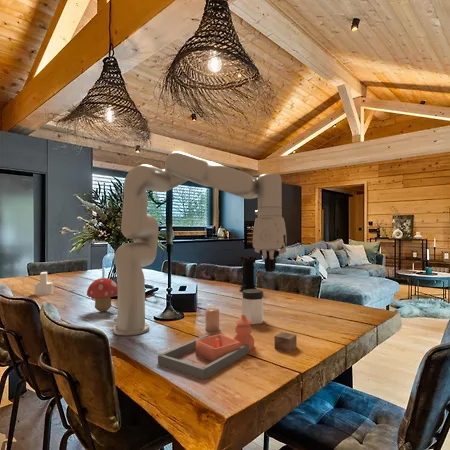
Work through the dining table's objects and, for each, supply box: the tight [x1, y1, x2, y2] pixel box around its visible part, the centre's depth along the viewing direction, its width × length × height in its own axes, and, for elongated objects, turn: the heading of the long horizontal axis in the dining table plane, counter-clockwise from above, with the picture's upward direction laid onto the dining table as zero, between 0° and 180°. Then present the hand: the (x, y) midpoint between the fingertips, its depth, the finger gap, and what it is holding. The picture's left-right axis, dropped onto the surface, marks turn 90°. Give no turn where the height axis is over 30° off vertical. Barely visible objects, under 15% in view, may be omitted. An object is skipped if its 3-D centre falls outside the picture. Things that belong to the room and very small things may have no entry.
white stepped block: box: [34, 271, 54, 296], centre depth 187 cm, size 9×9×12 cm
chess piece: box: [239, 255, 257, 294], centre depth 190 cm, size 8×8×20 cm
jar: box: [241, 288, 264, 325], centre depth 130 cm, size 9×8×12 cm
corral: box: [157, 334, 250, 381], centre depth 93 cm, size 16×21×2 cm
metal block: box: [274, 331, 298, 353], centre depth 101 cm, size 5×5×4 cm
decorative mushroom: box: [86, 277, 118, 313], centre depth 146 cm, size 13×13×15 cm
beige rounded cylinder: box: [204, 307, 220, 332], centre depth 120 cm, size 5×5×7 cm
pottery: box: [195, 314, 255, 363], centre depth 99 cm, size 18×10×10 cm, turn 129°
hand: (270, 271), depth 104 cm, fingers closed
